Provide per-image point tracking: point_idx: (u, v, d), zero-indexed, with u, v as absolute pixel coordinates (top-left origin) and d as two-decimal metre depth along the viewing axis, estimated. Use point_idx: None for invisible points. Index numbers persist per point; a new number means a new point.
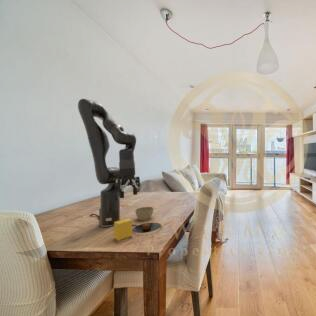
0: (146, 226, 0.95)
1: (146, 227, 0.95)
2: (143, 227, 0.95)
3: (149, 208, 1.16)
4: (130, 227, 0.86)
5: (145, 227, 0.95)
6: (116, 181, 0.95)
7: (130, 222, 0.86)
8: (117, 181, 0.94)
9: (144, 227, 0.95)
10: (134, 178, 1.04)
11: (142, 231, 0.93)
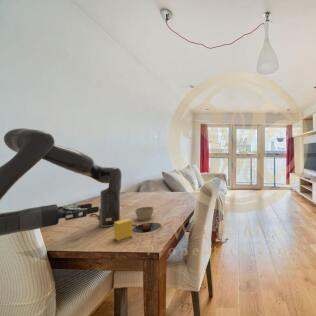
0: (146, 226, 0.95)
1: (146, 227, 0.95)
2: (143, 227, 0.95)
3: (149, 208, 1.16)
4: (130, 227, 0.86)
5: (145, 227, 0.95)
6: None
7: (130, 222, 0.86)
8: None
9: (144, 227, 0.95)
10: None
11: (142, 231, 0.93)
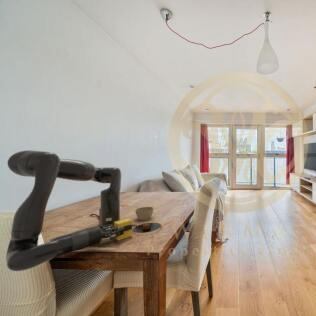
0: (146, 226, 0.95)
1: (146, 227, 0.95)
2: (143, 227, 0.95)
3: (149, 208, 1.16)
4: None
5: (145, 227, 0.95)
6: None
7: (130, 222, 0.86)
8: None
9: (144, 227, 0.95)
10: None
11: (142, 231, 0.93)
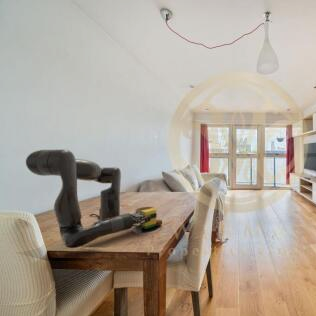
0: (157, 222, 1.00)
1: (157, 223, 1.00)
2: None
3: (149, 208, 1.16)
4: None
5: (156, 223, 1.00)
6: None
7: (155, 211, 0.99)
8: None
9: None
10: (137, 223, 0.90)
11: (142, 231, 0.93)
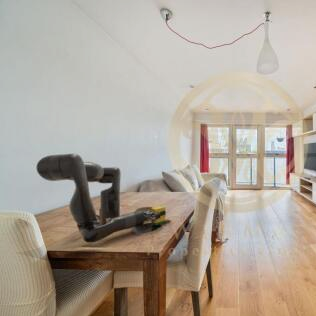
0: (165, 222, 1.04)
1: None
2: None
3: (149, 208, 1.16)
4: None
5: None
6: None
7: (164, 208, 1.04)
8: None
9: None
10: (148, 219, 0.95)
11: (142, 231, 0.93)
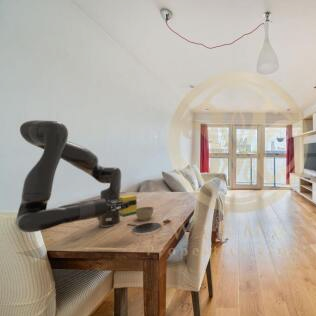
0: (165, 222, 1.04)
1: None
2: None
3: (149, 208, 1.16)
4: None
5: None
6: None
7: (135, 197, 0.88)
8: None
9: (164, 222, 1.05)
10: (112, 209, 0.79)
11: (142, 231, 0.93)
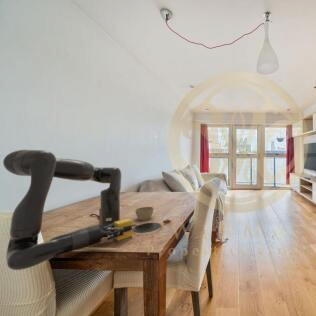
0: (165, 222, 1.04)
1: None
2: None
3: (149, 208, 1.16)
4: None
5: None
6: None
7: (130, 222, 0.86)
8: None
9: (164, 222, 1.05)
10: (106, 236, 0.78)
11: (142, 231, 0.93)
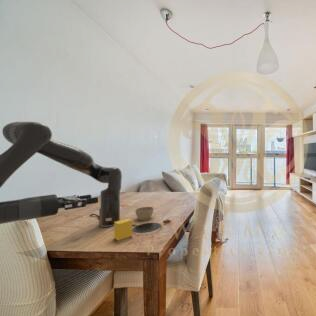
0: (165, 222, 1.04)
1: None
2: None
3: (149, 208, 1.16)
4: (130, 227, 0.86)
5: None
6: None
7: (130, 222, 0.86)
8: None
9: (164, 222, 1.05)
10: (65, 207, 0.67)
11: (142, 231, 0.93)
